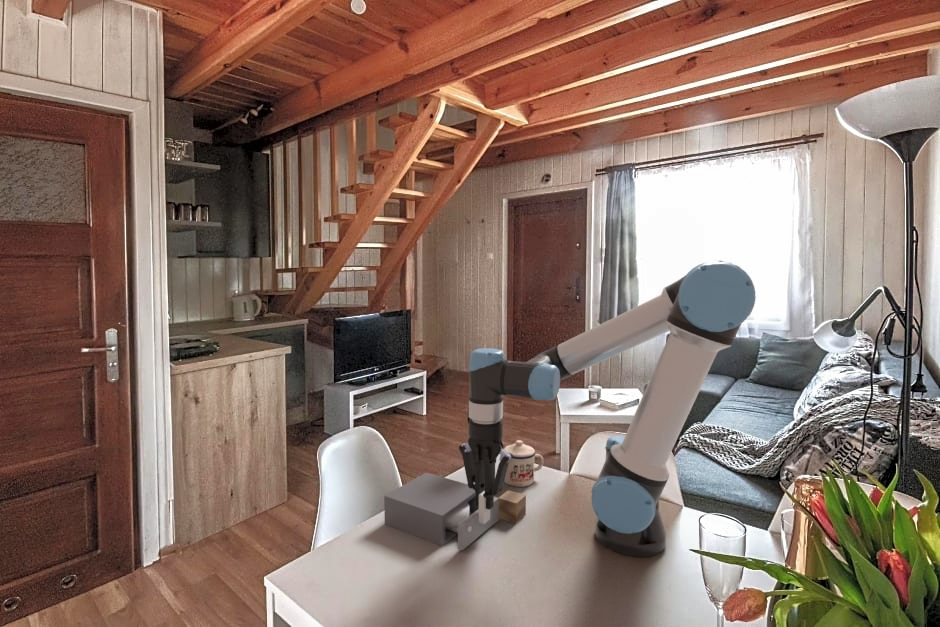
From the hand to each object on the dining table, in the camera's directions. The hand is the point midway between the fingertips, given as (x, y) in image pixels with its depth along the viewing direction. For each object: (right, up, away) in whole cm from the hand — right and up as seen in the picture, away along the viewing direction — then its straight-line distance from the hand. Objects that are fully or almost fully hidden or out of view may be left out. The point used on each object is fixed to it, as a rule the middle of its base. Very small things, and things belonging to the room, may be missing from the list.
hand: (484, 520), depth 113 cm
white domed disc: (-7, -2, +5) cm, 9 cm away
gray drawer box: (-12, -3, +8) cm, 15 cm away
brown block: (+7, -3, +10) cm, 13 cm away
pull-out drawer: (-8, -3, +5) cm, 10 cm away
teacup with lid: (+12, -1, +31) cm, 33 cm away
